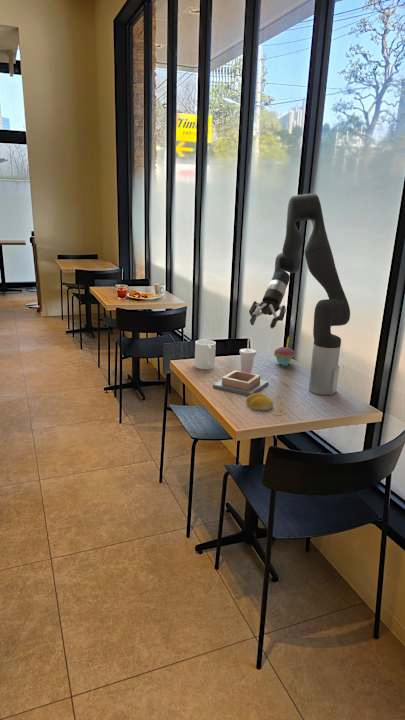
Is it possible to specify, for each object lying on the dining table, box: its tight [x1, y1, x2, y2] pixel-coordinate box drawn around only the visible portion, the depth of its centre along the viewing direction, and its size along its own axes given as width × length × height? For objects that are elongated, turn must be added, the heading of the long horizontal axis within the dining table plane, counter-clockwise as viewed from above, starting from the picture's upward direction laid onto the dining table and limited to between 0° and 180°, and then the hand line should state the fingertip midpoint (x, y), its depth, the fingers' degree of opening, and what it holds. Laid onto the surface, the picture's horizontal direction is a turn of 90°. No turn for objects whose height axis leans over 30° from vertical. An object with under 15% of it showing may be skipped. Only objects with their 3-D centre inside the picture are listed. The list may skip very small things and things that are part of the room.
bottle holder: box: [212, 369, 269, 397], centre depth 175 cm, size 15×15×4 cm
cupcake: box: [273, 336, 295, 366], centre depth 202 cm, size 9×8×12 cm
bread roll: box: [245, 392, 274, 412], centre depth 158 cm, size 8×9×4 cm
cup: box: [194, 339, 217, 370], centre depth 193 cm, size 8×12×10 cm
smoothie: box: [239, 338, 257, 373], centre depth 187 cm, size 6×6×14 cm
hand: (261, 325), depth 193 cm, fingers open, 8 cm apart
